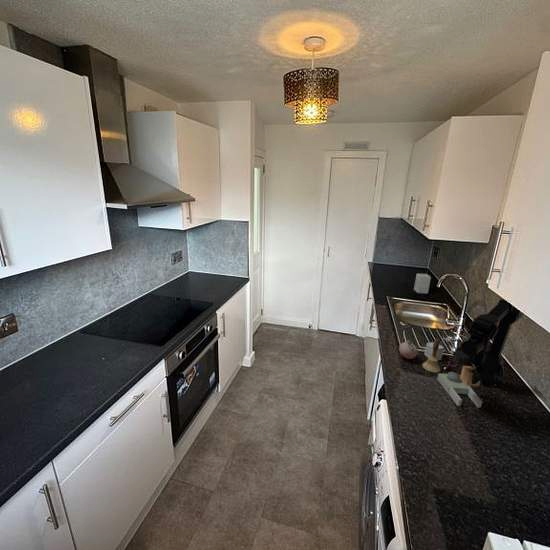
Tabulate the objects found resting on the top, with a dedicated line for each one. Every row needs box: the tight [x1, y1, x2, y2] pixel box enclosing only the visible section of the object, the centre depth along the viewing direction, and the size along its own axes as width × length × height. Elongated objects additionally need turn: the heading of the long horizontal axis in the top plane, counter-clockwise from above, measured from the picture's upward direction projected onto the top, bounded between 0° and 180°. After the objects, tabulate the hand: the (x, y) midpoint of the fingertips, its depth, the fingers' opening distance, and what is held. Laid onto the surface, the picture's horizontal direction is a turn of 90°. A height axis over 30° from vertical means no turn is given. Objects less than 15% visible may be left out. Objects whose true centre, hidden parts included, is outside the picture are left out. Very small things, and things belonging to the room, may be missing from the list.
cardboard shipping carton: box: [460, 365, 481, 387], centre depth 125 cm, size 5×5×6 cm
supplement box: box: [413, 273, 432, 295], centre depth 256 cm, size 9×9×15 cm
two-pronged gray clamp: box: [436, 371, 483, 409], centre depth 133 cm, size 18×10×5 cm, turn 177°
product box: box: [423, 342, 445, 361], centre depth 159 cm, size 6×6×7 cm
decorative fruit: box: [398, 339, 418, 360], centre depth 157 cm, size 9×8×10 cm
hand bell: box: [421, 338, 441, 373], centre depth 149 cm, size 8×8×16 cm
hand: (469, 379), depth 125 cm, fingers closed on cardboard shipping carton, 5 cm apart
